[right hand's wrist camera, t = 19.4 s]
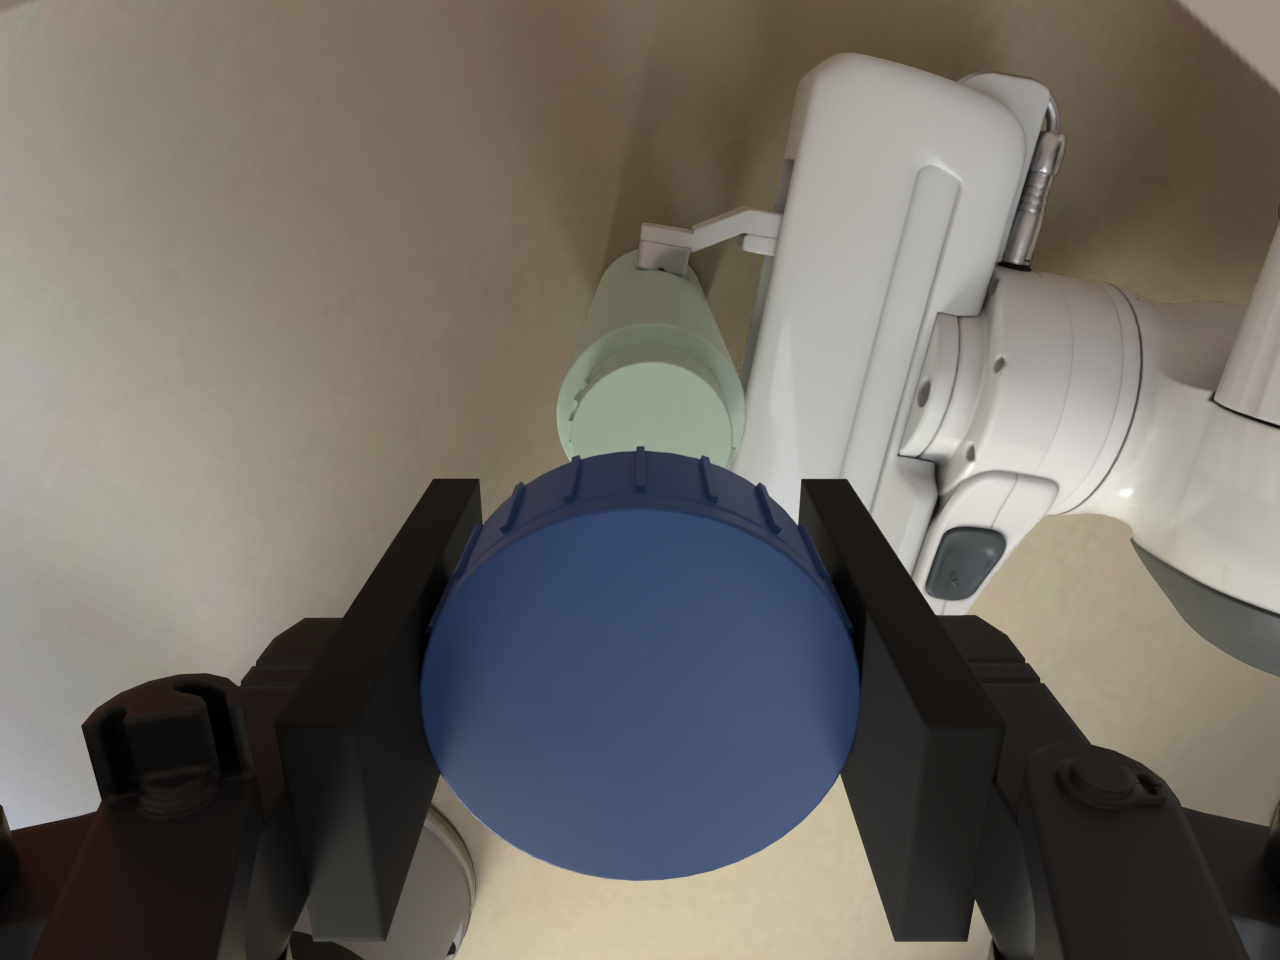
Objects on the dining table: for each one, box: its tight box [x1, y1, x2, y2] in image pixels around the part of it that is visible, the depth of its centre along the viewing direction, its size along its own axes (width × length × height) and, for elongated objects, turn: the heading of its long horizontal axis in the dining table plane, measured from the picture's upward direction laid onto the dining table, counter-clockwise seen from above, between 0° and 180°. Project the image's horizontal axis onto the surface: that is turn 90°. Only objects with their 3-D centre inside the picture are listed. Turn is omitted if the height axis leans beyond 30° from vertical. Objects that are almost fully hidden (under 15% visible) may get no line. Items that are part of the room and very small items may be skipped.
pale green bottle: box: [556, 249, 747, 470], centre depth 29 cm, size 5×5×19 cm
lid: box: [420, 446, 861, 881], centre depth 11 cm, size 5×6×2 cm
